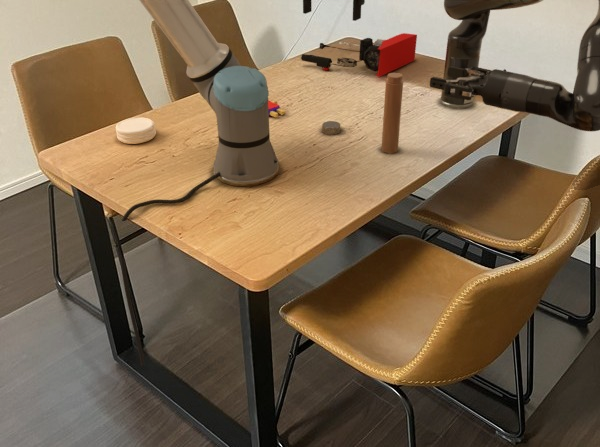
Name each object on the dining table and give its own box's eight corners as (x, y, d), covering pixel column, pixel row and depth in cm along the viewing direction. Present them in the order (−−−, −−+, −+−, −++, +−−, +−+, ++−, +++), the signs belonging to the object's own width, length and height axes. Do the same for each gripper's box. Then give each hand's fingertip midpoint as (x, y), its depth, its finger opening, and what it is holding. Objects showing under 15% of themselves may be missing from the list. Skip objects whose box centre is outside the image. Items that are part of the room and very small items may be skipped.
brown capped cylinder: (378, 149, 155) (382, 75, 144) (388, 144, 157) (393, 71, 147) (390, 154, 152) (396, 79, 142) (401, 149, 154) (407, 75, 144)
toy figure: (289, 106, 174) (261, 93, 181) (270, 113, 170) (242, 99, 177) (289, 115, 175) (261, 101, 182) (270, 121, 171) (243, 107, 178)
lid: (343, 131, 164) (343, 125, 163) (329, 136, 162) (329, 129, 161) (332, 125, 167) (332, 119, 166) (318, 130, 165) (318, 123, 164)
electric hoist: (300, 34, 205) (379, 49, 190) (342, 21, 224) (417, 33, 209) (299, 65, 210) (376, 81, 195) (341, 49, 229) (414, 63, 214)
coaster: (128, 148, 157) (126, 135, 155) (110, 136, 163) (108, 123, 162) (163, 136, 162) (161, 124, 161) (144, 125, 169) (142, 113, 167)
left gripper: (276, -84, 140) (279, 12, 152) (376, -78, 129) (371, 26, 140) (294, -87, 146) (295, 6, 157) (391, -82, 134) (385, 18, 146)
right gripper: (526, 64, 132) (455, 51, 140) (500, 83, 122) (426, 68, 131) (520, 98, 136) (451, 83, 144) (494, 119, 126) (422, 102, 135)
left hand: (331, 15), depth 149 cm, fingers open, 13 cm apart
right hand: (439, 76), depth 137 cm, fingers open, 8 cm apart
